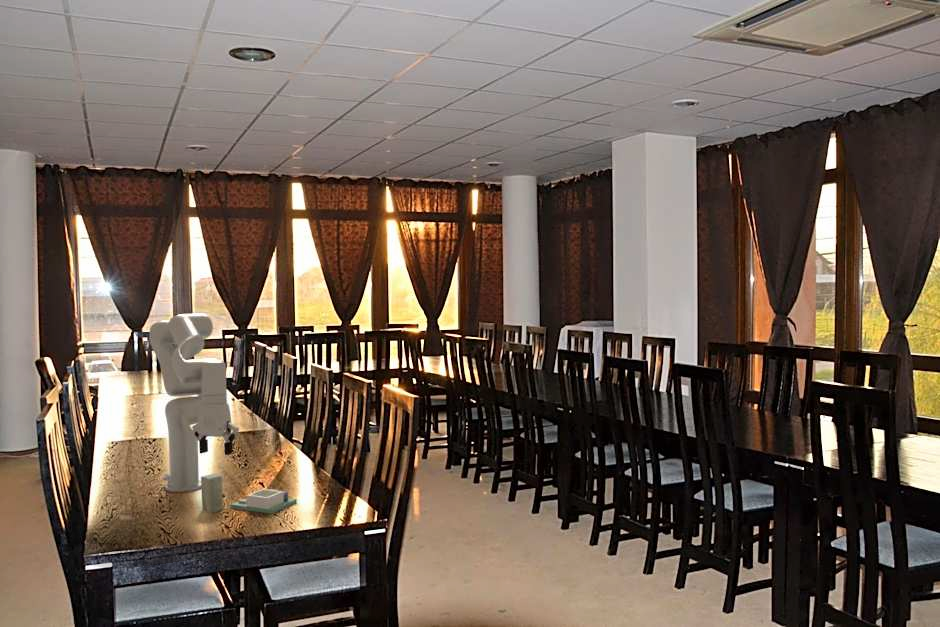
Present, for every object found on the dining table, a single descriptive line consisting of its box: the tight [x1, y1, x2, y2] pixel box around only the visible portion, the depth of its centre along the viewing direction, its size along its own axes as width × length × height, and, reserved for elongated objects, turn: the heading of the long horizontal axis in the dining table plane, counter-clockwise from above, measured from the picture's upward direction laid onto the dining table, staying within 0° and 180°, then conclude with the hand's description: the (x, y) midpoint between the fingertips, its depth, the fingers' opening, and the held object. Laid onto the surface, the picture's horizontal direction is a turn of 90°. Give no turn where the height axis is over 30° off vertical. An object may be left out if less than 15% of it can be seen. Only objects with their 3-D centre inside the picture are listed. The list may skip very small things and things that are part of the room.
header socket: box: [246, 488, 285, 509], centre depth 260 cm, size 8×9×4 cm
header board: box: [230, 491, 297, 515], centre depth 262 cm, size 16×13×4 cm
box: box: [200, 473, 224, 514], centre depth 257 cm, size 5×4×11 cm
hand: (216, 453), depth 258 cm, fingers open, 9 cm apart
